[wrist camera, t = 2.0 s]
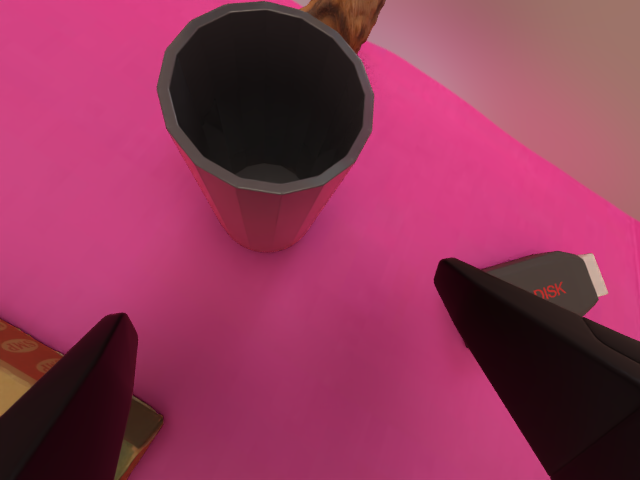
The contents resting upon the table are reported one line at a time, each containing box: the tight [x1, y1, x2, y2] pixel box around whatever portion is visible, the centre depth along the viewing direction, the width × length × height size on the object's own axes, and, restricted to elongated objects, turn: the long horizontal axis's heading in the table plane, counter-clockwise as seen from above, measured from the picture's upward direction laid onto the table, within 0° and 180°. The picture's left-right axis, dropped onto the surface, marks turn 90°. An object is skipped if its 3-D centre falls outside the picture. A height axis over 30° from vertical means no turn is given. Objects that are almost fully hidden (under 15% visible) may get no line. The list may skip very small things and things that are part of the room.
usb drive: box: [465, 251, 608, 348], centre depth 23 cm, size 5×12×3 cm, turn 105°
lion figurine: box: [299, 0, 386, 54], centre depth 19 cm, size 15×5×9 cm, turn 128°
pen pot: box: [157, 1, 374, 253], centre depth 15 cm, size 7×7×12 cm
